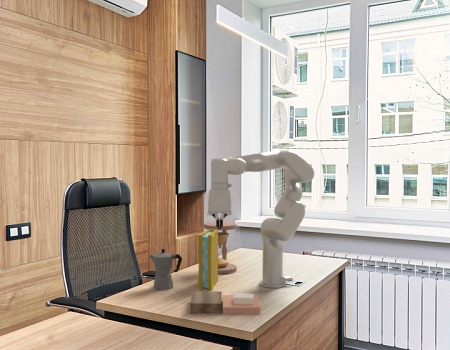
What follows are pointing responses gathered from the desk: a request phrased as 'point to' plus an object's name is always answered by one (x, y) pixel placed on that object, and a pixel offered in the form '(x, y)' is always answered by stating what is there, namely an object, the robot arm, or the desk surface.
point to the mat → (240, 306)
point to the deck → (206, 302)
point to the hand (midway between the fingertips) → (219, 228)
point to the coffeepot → (164, 269)
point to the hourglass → (222, 239)
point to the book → (208, 259)
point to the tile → (243, 298)
